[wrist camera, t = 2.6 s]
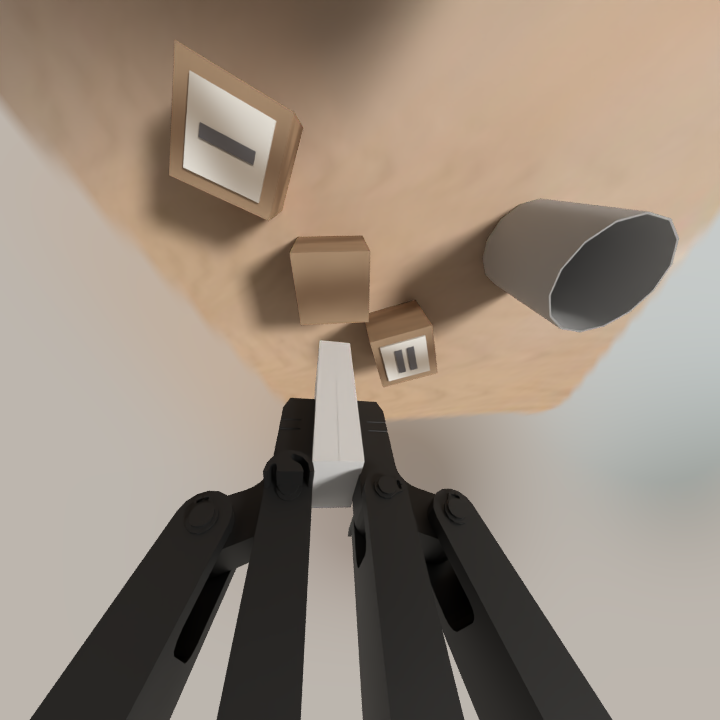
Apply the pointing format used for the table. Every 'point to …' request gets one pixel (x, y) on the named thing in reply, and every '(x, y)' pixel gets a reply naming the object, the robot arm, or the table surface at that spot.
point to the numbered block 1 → (230, 136)
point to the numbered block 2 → (402, 343)
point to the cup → (579, 259)
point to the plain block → (331, 279)
